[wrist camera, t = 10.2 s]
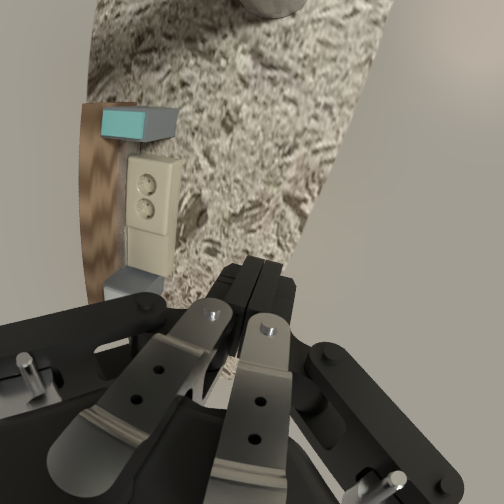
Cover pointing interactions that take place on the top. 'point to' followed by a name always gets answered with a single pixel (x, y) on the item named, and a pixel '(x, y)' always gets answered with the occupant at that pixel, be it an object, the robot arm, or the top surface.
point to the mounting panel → (98, 199)
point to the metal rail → (123, 200)
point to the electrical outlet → (152, 211)
